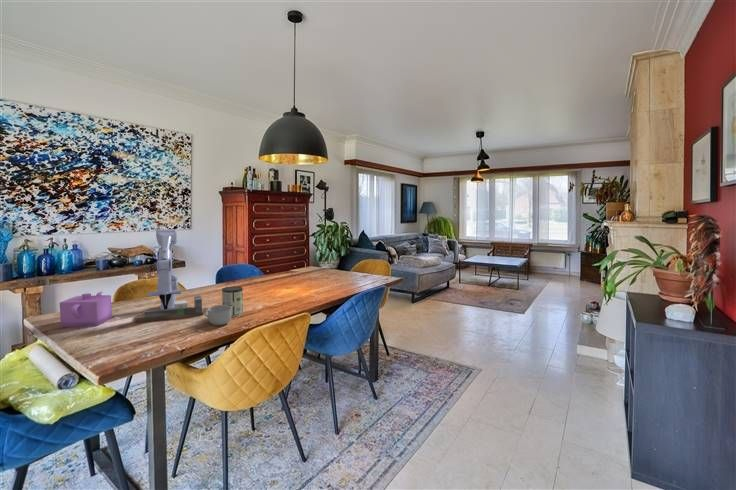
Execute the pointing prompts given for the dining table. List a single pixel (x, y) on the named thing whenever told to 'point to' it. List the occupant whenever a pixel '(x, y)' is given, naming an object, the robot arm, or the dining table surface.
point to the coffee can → (233, 299)
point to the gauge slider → (180, 304)
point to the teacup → (218, 314)
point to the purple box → (85, 310)
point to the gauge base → (172, 312)
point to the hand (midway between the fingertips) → (165, 308)
